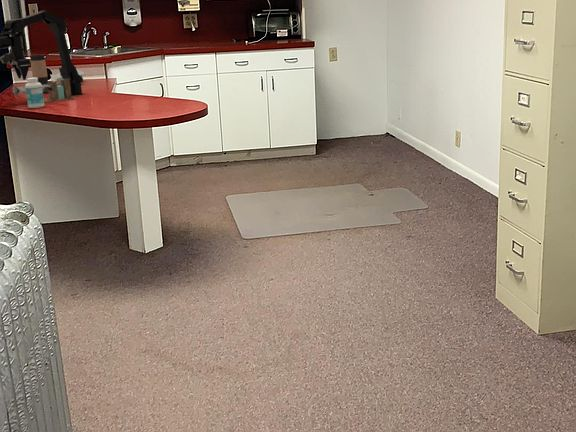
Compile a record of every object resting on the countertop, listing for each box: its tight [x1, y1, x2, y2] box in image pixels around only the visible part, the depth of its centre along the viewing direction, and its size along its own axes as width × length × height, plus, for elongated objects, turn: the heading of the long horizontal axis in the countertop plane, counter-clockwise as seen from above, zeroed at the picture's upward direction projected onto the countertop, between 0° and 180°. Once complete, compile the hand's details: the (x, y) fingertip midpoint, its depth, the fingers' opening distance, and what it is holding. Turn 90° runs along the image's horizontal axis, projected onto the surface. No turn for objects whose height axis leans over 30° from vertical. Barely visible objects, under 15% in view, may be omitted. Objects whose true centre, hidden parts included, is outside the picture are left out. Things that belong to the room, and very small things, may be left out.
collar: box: [57, 84, 65, 99], centre depth 375 cm, size 3×6×6 cm, turn 32°
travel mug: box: [29, 54, 49, 95], centre depth 404 cm, size 8×8×20 cm
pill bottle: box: [24, 77, 45, 109], centre depth 350 cm, size 8×7×14 cm
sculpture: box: [49, 68, 85, 85], centre depth 446 cm, size 25×19×10 cm
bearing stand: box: [44, 80, 76, 103], centre depth 373 cm, size 20×10×9 cm, turn 122°
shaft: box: [12, 84, 52, 96], centre depth 369 cm, size 19×4×4 cm, turn 122°
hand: (22, 79), depth 368 cm, fingers open, 9 cm apart
